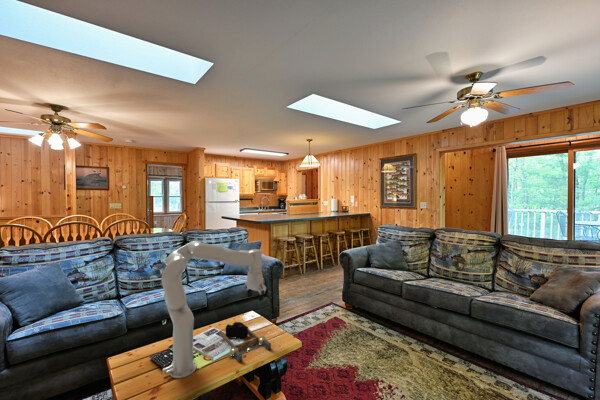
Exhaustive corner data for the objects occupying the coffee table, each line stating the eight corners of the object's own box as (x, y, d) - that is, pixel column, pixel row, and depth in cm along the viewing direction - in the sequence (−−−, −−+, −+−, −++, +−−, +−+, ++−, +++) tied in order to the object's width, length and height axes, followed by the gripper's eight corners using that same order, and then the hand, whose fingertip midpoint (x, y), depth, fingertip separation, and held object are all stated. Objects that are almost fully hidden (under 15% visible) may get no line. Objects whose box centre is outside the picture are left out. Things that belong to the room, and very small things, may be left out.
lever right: (257, 342, 159) (257, 337, 159) (263, 340, 162) (263, 334, 162) (266, 351, 150) (266, 345, 150) (273, 348, 153) (273, 342, 153)
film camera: (251, 331, 173) (251, 318, 173) (246, 339, 163) (246, 325, 163) (229, 330, 175) (229, 317, 175) (223, 338, 165) (223, 324, 165)
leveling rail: (229, 359, 144) (229, 358, 144) (227, 356, 147) (227, 354, 147) (269, 343, 159) (269, 342, 159) (266, 340, 162) (266, 339, 162)
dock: (233, 351, 151) (233, 346, 150) (219, 335, 168) (219, 330, 168) (258, 342, 160) (258, 337, 160) (242, 327, 178) (242, 323, 178)
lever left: (228, 353, 148) (228, 347, 148) (236, 350, 151) (236, 344, 151) (237, 363, 139) (237, 357, 139) (245, 360, 142) (244, 354, 142)
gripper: (240, 269, 159) (240, 297, 160) (261, 274, 149) (261, 304, 150) (249, 266, 165) (249, 293, 166) (270, 271, 155) (270, 299, 156)
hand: (255, 298), depth 158 cm, fingers open, 9 cm apart
